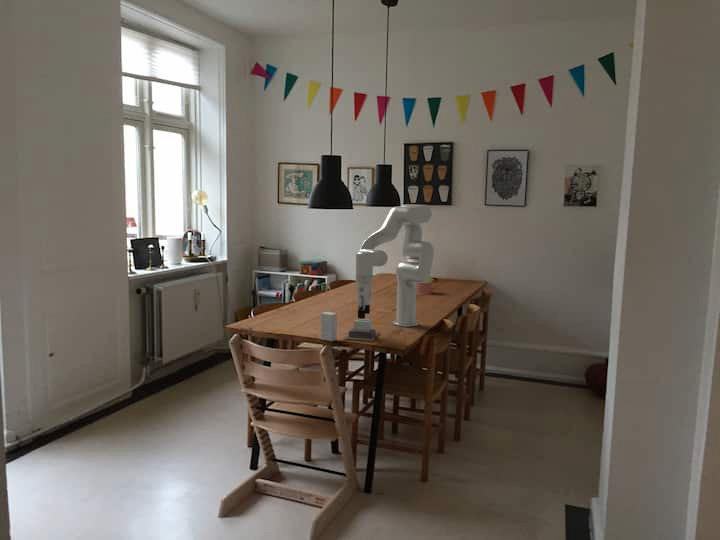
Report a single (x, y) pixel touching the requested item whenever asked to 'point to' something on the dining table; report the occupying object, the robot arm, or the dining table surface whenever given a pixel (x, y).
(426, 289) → the canned food
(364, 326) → the key block
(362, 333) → the keyed holder
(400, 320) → the robot arm
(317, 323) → the dining table surface
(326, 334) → the skincare box
